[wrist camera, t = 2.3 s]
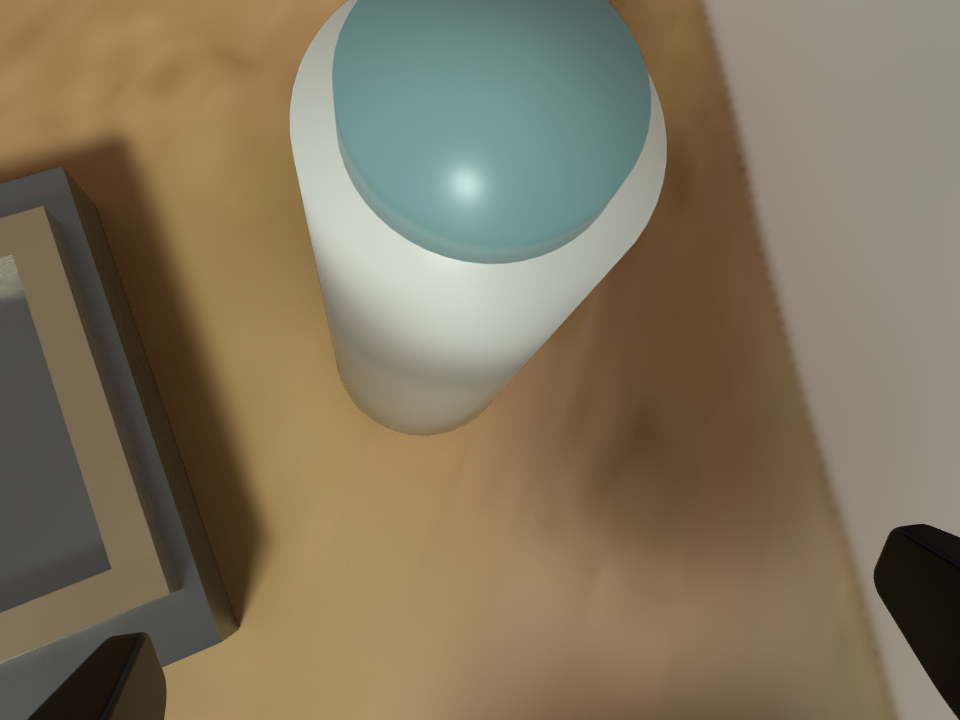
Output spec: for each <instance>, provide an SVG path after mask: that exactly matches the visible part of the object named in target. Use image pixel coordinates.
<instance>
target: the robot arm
mask: <svg viewBox="0 0 960 720" xmlns="http://www.w3.org/2000/svg"><path fill="white" fill-rule="evenodd" d="M874 583H875V587H876V590H877V592H878V594H879V596H880V597H881V599H882V601H883V602H884V604H885V606H886V607H887V609H888V611H889V612H890V614H891V616H892V617H893V618H894V620H895V622H896V624H897V625H898V627H899V629H900V630H901V632H902V633H903V635H904V637H905V638H906V640H907V642H908V643H909V645H910V647H911V648H912V650H913V652H914V653H915V655H916V656H917V658H918V660H919V661H920V663H921V665H922V666H923V668H924V670H925V671H926V673H927V674H928V676H929V677H930V679H931V681H932V682H933V684H934V685H935V687H936V688H937V690H938V691H939V693H940V694H941V696H942V697H943V699H944V700H945V701H946V703H947V704H948V706H949V707H950V708H951V710H952V711H953V712H954V714H955V715H956V716H957V718H958V719H959V720H960V537H957V536H955V535H953V534H950V533H948V532H945V531H942V530H940V529H937V528H935V527H932V526H929V525H926V524H916V525H908V526H901V527H897V528H894V529H893V530H892V531H891V532H890V534H889V536H888V538H887V540H886V543H885V545H884V547H883V550H882V552H881V555H880V557H879V559H878V562H877V564H876V567H875V569H874ZM166 693H167V691H166V680H165V676H164V673H163V670H162V667H161V664H160V662H159V659H158V656H157V653H156V651H155V648H154V645H153V642H152V640H151V638H150V636H149V635H148V634H147V633H145V632H136V633H129V634H122V635H115V636H111V637H109V638H107V639H106V640H105V641H104V642H102V643H101V644H100V645H99V646H98V647H97V648H96V649H95V650H94V651H93V652H92V653H91V655H90V656H89V657H88V658H87V659H86V660H85V661H84V662H83V663H82V664H81V665H80V666H79V667H78V668H77V669H76V670H75V671H74V672H73V673H72V674H71V675H70V676H69V677H68V678H67V679H66V680H65V681H64V682H63V683H62V684H61V685H60V686H59V687H58V688H57V689H56V690H55V691H54V692H53V693H52V694H51V695H50V696H49V697H48V698H47V699H46V700H45V701H44V702H43V703H42V704H41V705H40V706H39V707H38V708H37V709H36V710H35V711H34V712H33V713H32V714H31V715H30V716H29V717H28V718H27V719H26V720H164V715H165V707H166Z"/></svg>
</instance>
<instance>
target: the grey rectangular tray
mask: <svg viewBox="0 0 960 720" xmlns="http://www.w3.org/2000/svg"><path fill="white" fill-rule="evenodd" d="M237 630H239V627H238V625H237V622H236V619H235V616H234V613H233V610H232V607H231V604H230V601H229V598H228V595H227V592H226V589H225V586H224V583H223V580H222V577H221V574H220V571H219V568H218V566H217V563H216V560H215V557H214V554H213V551H212V548H211V545H210V542H209V539H208V536H207V533H206V530H205V527H204V524H203V521H202V518H201V515H200V512H199V509H198V506H197V504H196V501H195V498H194V495H193V492H192V489H191V486H190V483H189V480H188V477H187V474H186V471H185V468H184V465H183V462H182V459H181V456H180V453H179V450H178V447H177V445H176V442H175V439H174V436H173V433H172V430H171V427H170V424H169V421H168V418H167V415H166V412H165V409H164V406H163V403H162V400H161V397H160V394H159V391H158V388H157V385H156V383H155V380H154V377H153V374H152V371H151V368H150V365H149V362H148V359H147V356H146V353H145V350H144V347H143V344H142V341H141V338H140V335H139V332H138V329H137V326H136V324H135V321H134V318H133V315H132V312H131V309H130V306H129V303H128V300H127V297H126V294H125V291H124V288H123V285H122V282H121V279H120V276H119V273H118V270H117V267H116V264H115V262H114V259H113V256H112V253H111V250H110V247H109V244H108V241H107V238H106V235H105V232H104V229H103V226H102V223H101V220H100V217H99V214H98V211H97V208H96V206H95V204H94V203H93V202H92V201H91V200H90V198H89V197H88V196H87V195H86V194H85V193H84V191H83V190H82V189H81V188H80V187H79V185H78V184H77V183H76V182H75V181H74V179H73V178H72V177H71V176H70V175H69V174H68V172H67V171H66V170H65V169H64V168H63V166H61V167H58V168H54V169H50V170H47V171H43V172H40V173H36V174H33V175H29V176H25V177H22V178H18V179H15V180H11V181H8V182H4V183H0V720H26V719H27V718H28V717H29V716H30V715H31V714H32V713H33V712H34V711H35V710H36V709H37V708H38V707H39V706H40V705H41V704H42V703H43V702H44V701H45V700H46V699H47V698H48V697H49V696H50V695H51V694H52V693H53V692H54V691H55V690H56V689H57V688H58V687H59V686H60V685H61V684H62V683H63V682H64V681H65V680H66V679H67V678H68V677H69V676H70V675H71V674H72V673H73V672H74V671H75V670H76V669H77V668H78V667H79V666H80V665H81V664H82V663H83V662H84V661H85V660H86V659H87V658H88V657H89V656H90V655H91V653H92V652H93V651H94V650H95V649H96V648H97V647H98V646H99V645H100V644H101V643H102V642H104V641H105V640H106V639H107V638H109V637H111V636H115V635H122V634H129V633H136V632H145V633H147V634H148V635H149V636H150V638H151V640H152V642H153V645H154V648H155V651H156V653H157V656H158V659H159V662H160V664H161V667H164V666H167V665H169V664H171V663H174V662H176V661H178V660H181V659H183V658H185V657H188V656H190V655H192V654H195V653H197V652H199V651H202V650H204V649H206V648H209V647H211V646H213V645H216V644H218V643H220V642H222V641H224V640H225V639H226V638H228V637H229V636H230V635H232V634H233V633H235V632H236V631H237Z"/></svg>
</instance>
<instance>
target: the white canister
mask: <svg viewBox="0 0 960 720" xmlns="http://www.w3.org/2000/svg"><path fill="white" fill-rule="evenodd" d="M290 138H291V144H292V150H293V156H294V162H295V166H296V171H297V176H298V181H299V186H300V190H301V195H302V200H303V205H304V210H305V214H306V219H307V224H308V229H309V233H310V238H311V243H312V248H313V253H314V257H315V262H316V267H317V272H318V277H319V281H320V286H321V291H322V296H323V301H324V305H325V310H326V315H327V320H328V325H329V329H330V334H331V339H332V344H333V348H334V353H335V358H336V363H337V368H338V371H339V375H340V378H341V381H342V383H343V385H344V387H345V389H346V391H347V393H348V394H349V396H350V397H351V399H352V400H353V402H354V403H355V404H356V405H357V406H358V407H359V409H361V410H362V411H363V412H364V413H365V414H366V415H367V416H368V417H370V418H371V419H373V420H374V421H376V422H377V423H379V424H381V425H383V426H385V427H387V428H389V429H392V430H394V431H397V432H401V433H406V434H411V435H435V434H440V433H445V432H448V431H452V430H455V429H457V428H459V427H461V426H463V425H465V424H467V423H468V422H470V421H472V420H473V419H475V418H476V417H477V416H478V415H479V414H480V413H482V412H483V411H484V410H485V409H486V408H487V406H488V405H489V404H490V403H491V402H492V401H493V400H494V399H495V398H496V396H497V395H498V394H499V393H500V392H501V391H502V390H503V389H504V388H505V386H506V385H507V384H508V383H509V382H510V381H511V380H512V379H513V378H514V376H515V375H516V374H517V373H518V372H519V371H520V370H521V369H522V368H523V366H524V365H525V364H526V363H527V362H528V361H529V360H530V359H531V358H532V356H533V355H534V354H535V353H536V352H537V351H538V350H539V349H540V348H541V346H542V345H543V344H544V343H545V342H546V341H547V340H548V339H549V338H550V336H551V335H552V334H553V333H554V332H555V331H556V330H557V329H558V328H559V326H560V325H561V324H562V323H563V322H564V321H565V320H566V319H567V318H568V316H569V315H570V314H571V313H572V312H573V311H574V310H575V309H576V308H577V306H578V305H579V304H580V303H581V302H582V301H583V300H584V299H585V298H586V296H587V295H588V294H589V293H590V292H591V291H592V290H593V289H594V288H595V286H596V285H597V284H598V283H599V282H600V281H601V280H602V279H603V278H604V276H605V275H606V274H607V273H608V272H609V271H610V270H611V269H612V268H613V266H614V265H615V264H616V263H617V262H618V261H619V260H620V259H621V258H622V256H623V255H624V254H625V253H626V252H627V251H628V250H629V249H630V248H631V246H632V245H633V244H634V243H635V242H636V240H637V239H638V237H639V236H640V234H641V233H642V231H643V230H644V228H645V227H646V225H647V224H648V222H649V219H650V217H651V215H652V213H653V211H654V209H655V207H656V205H657V202H658V198H659V195H660V192H661V189H662V185H663V181H664V175H665V168H666V161H667V137H666V129H665V122H664V116H663V112H662V108H661V104H660V101H659V97H658V94H657V92H656V89H655V87H654V84H653V82H652V79H651V77H650V75H649V73H648V71H647V69H646V65H645V61H644V58H643V56H642V53H641V51H640V48H639V46H638V44H637V41H636V40H635V38H634V36H633V34H632V33H631V31H630V29H629V27H628V25H627V24H626V23H625V21H624V20H623V19H622V17H621V16H620V15H619V13H618V12H617V10H616V9H615V8H614V7H613V6H612V5H611V4H610V3H609V2H608V1H607V0H348V1H347V2H346V3H345V4H344V5H342V6H341V7H340V8H339V9H338V10H336V12H335V13H334V14H333V15H332V16H331V17H330V18H329V19H328V20H327V22H326V23H325V24H324V25H323V26H322V27H321V29H320V30H319V32H318V33H317V35H316V36H315V38H314V39H313V41H312V42H311V44H310V45H309V47H308V49H307V51H306V53H305V56H304V58H303V60H302V62H301V64H300V66H299V70H298V73H297V76H296V80H295V83H294V86H293V92H292V99H291V106H290Z"/></svg>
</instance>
